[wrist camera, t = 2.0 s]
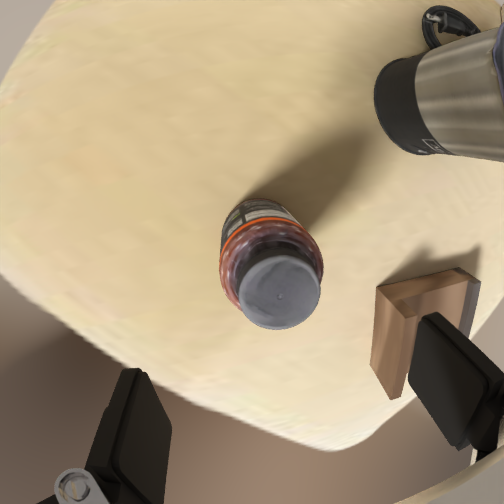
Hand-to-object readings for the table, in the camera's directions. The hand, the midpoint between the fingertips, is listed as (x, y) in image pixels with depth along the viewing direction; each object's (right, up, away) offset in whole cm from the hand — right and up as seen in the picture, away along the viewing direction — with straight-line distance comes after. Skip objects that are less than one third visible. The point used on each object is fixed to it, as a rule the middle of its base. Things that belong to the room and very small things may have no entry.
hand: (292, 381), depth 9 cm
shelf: (+17, -3, +20) cm, 26 cm away
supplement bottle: (-1, +6, +16) cm, 17 cm away
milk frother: (+15, +21, +12) cm, 28 cm away
